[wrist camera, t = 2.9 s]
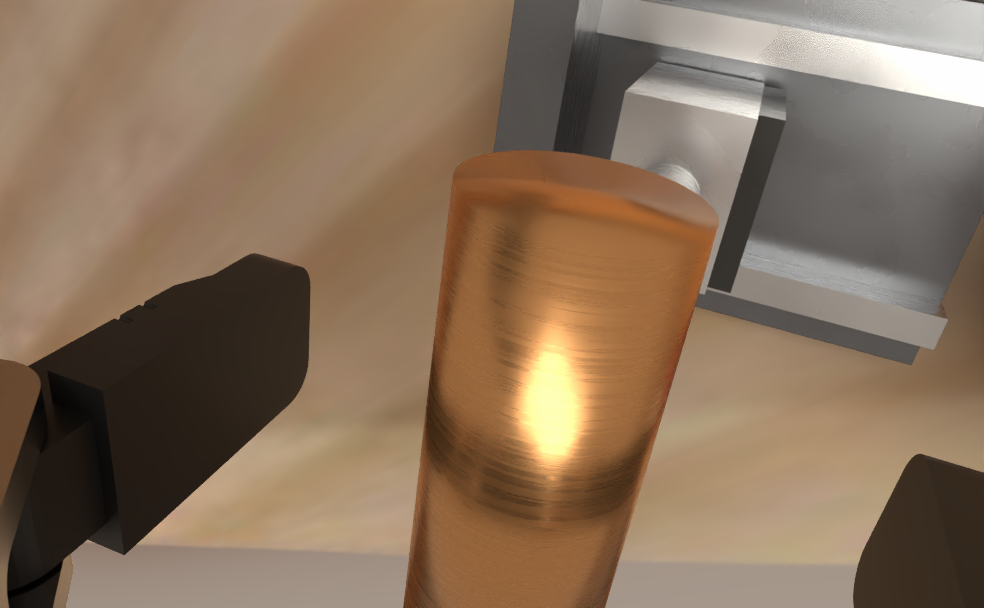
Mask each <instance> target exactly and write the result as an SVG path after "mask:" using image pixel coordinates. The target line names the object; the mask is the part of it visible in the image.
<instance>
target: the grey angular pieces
mask: <svg viewBox="0 0 984 608" xmlns="http://www.w3.org/2000/svg"><path fill="white" fill-rule="evenodd" d="M657 62H661V63H666V64H671V65H676V66H681V67H687V68H692V69H697V70H702V71H707V72H712V73H717V74H722V75H727V76H732V77H737V78H742V79H747V80H752V81H757V82H762V83H765V84H764V86H767V87H772V88H777V89H782V90H787V101H786V122H785V125H784V128H783V131H782V134H781V138H780V141H779V144H778V147H777V150H776V153H775V156H774V159H773V162H772V166H771V169H770V172H769V175H768V178H767V181H766V184H765V187H764V191H763V194H762V197H761V200H760V203H759V206H758V209H757V212H756V215H755V219H754V222H753V225H752V228H751V231H750V234H749V237H748V240H747V243H746V247H745V250H744V253H743V256H742V259H741V262H740V265H739V268H738V271H737V275H736V278H735V281H734V284H733V287H732V290H731V293H728V292H724V291H720V290H717V289H713V288H709V287H707V289H706V292H705V295H704V294H700V293H699V294H698V298H697V301H696V304H695V306H696V307H700V308H704V309H707V310H711V311H715V312H718V313H722V314H725V315H729V316H733V317H736V318H740V319H744V320H747V321H751V322H755V323H758V324H762V325H766V326H769V327H773V328H777V329H780V330H784V331H788V332H791V333H795V334H799V335H802V336H806V337H810V338H813V339H817V340H821V341H824V342H828V343H832V344H835V345H839V346H843V347H846V348H850V349H854V350H857V351H861V352H865V353H868V354H872V355H875V356H879V357H883V358H886V359H890V360H894V361H897V362H901V363H905V364H908V365H912V363H913V360H914V358H915V356H916V354H917V352H918V350H919V348H920V347H924V348H928V349H932V350H934V348H935V346H936V344H937V342H938V340H939V338H940V336H941V334H942V332H943V330H944V328H945V326H946V324H947V322H948V320H949V319H948V317H947V315H946V312H945V310H944V307H943V305H942V302H941V301H942V299H943V297H944V295H945V293H946V291H947V289H948V287H949V284H950V282H951V280H952V278H953V276H954V274H955V272H956V270H957V267H958V265H959V263H960V261H961V259H962V257H963V255H964V253H965V251H966V248H967V246H968V244H969V242H970V240H971V238H972V236H973V234H974V232H975V229H976V227H977V225H978V223H979V221H980V219H981V217H982V215H983V213H984V2H981V1H975V0H515V3H514V11H513V18H512V25H511V32H510V39H509V46H508V54H507V61H506V68H505V75H504V82H503V89H502V97H501V104H500V111H499V118H498V125H497V133H496V140H495V147H494V153H495V152H502V151H515V150H541V151H556V152H566V153H573V154H581V155H587V156H592V157H598V158H603V159H607V160H610V159H611V155H612V150H613V145H614V141H615V136H616V131H617V127H618V122H619V118H620V113H621V108H622V104H623V99H624V94H625V91H626V90H627V89H628V88H629V87H631V86H632V85H633V84H634V83H635V82H636V81H637V80H638V79H639V78H640V77H642V76H643V75H644V74H645V73H646V72H647V71H648V70H649V69H650V68H651V67H653V66H654V65H655V64H656V63H657Z"/></svg>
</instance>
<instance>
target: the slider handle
mask: <svg viewBox="0 0 984 608" xmlns="http://www.w3.org/2000/svg"><path fill="white" fill-rule="evenodd" d="M764 84H765V83H762V82H757V81H752V80H747V79H742V78H737V77H732V76H727V75H722V74H717V73H712V72H707V71H702V70H697V69H692V68H687V67H681V66H676V65H671V64H666V63H661V62H657V63H656V64H655V65H654V66H653V67H651V68H650V69H649V70H648V71H647V72H646V73H645V74H644V75H643V76H642V77H640V78H639V79H638V80H637V81H636V82H635V83H634V84H633V85H632V86H631V87H629V88H628V89H627V90H626V91H625V94H624V99H623V104H622V108H621V113H620V118H619V122H618V127H617V131H616V136H615V141H614V145H613V150H612V155H611V159H610V160H607V159H603V158H598V157H592V156H587V155H581V154H573V153H566V152H556V151H541V150H515V151H502V152H495V153H488V154H484V155H480V156H477V157H474V158H471V159H469V160H467V161H465V162H463V163H462V164H461V165H459V166H458V167H457V168H456V170H455V172H454V174H453V180H452V188H451V197H450V206H449V214H448V223H447V232H446V240H445V249H444V258H443V267H442V275H441V284H440V293H439V301H438V310H437V319H436V327H435V336H434V345H433V354H432V362H431V371H430V380H429V388H428V397H427V406H426V415H425V423H424V432H423V441H422V449H421V458H420V467H419V475H418V484H417V493H416V502H415V510H414V519H413V528H412V536H411V545H410V554H409V562H408V571H407V580H406V590H405V597H404V606H403V608H605V606H606V602H607V599H608V596H609V592H610V589H611V585H612V582H613V579H614V576H615V572H616V569H617V566H618V562H619V559H620V555H621V552H622V549H623V545H624V542H625V539H626V535H627V532H628V529H629V525H630V522H631V519H632V515H633V512H634V509H635V505H636V502H637V499H638V495H639V492H640V489H641V485H642V482H643V478H644V475H645V472H646V468H647V465H648V462H649V458H650V455H651V452H652V448H653V445H654V442H655V438H656V435H657V432H658V428H659V425H660V422H661V418H662V415H663V412H664V408H665V405H666V401H667V398H668V395H669V391H670V388H671V385H672V381H673V378H674V375H675V371H676V368H677V365H678V361H679V358H680V355H681V351H682V348H683V345H684V341H685V338H686V335H687V331H688V328H689V324H690V321H691V318H692V314H693V311H694V308H695V304H696V301H697V298H698V294H699V293H700V294H704V295H705V292H706V289H707V287H709V288H713V289H717V290H720V291H724V292H728V293H731V290H732V287H733V284H734V281H735V278H736V275H737V271H738V268H739V265H740V262H741V259H742V256H743V253H744V250H745V247H746V243H747V240H748V237H749V234H750V231H751V228H752V225H753V222H754V219H755V215H756V212H757V209H758V206H759V203H760V200H761V197H762V194H763V191H764V187H765V184H766V181H767V178H768V175H769V172H770V169H771V166H772V162H773V159H774V156H775V153H776V150H777V147H778V144H779V141H780V138H781V134H782V131H783V128H784V125H785V122H786V101H787V90H782V89H777V88H772V87H767V86H764Z"/></svg>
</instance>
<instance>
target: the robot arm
mask: <svg viewBox="0 0 984 608" xmlns="http://www.w3.org/2000/svg"><path fill="white" fill-rule="evenodd" d="M309 321H310V278H309V275H308V273H307V271H306V270H305V269H304V268H302V267H300V266H297V265H293V264H290V263H287V262H283V261H280V260H277V259H273V258H270V257H267V256H263V255H260V254H255V253H254V254H250V255H247V256H246V257H244V258H242V259H240V260H239V261H237V262H235V263H233V264H232V265H230V266H228V267H226V268H225V269H223V270H221V271H219V272H218V273H216V274H214V275H211V276H207V277H204V278H200V279H196V280H193V281H189V282H185V283H182V284H178V285H174V286H172V287H170V288H169V289H167V290H165V291H163V292H161V293H160V294H158V295H156V296H154V297H152V298H151V299H149V300H147V301H145V304H144V306H141V305H138V306H136V307H134V308H132V309H131V310H129V311H127V312H125V313H123V314H122V315H120V319H119V320H117V319H113V320H111V321H109V322H107V323H105V324H104V325H102V326H100V327H98V328H96V329H95V330H93V331H91V332H89V333H87V334H85V335H84V336H82V337H80V338H78V339H76V340H75V341H73V342H71V343H69V344H67V345H66V346H64V347H62V348H60V349H58V350H57V351H55V352H53V353H51V354H49V355H47V356H46V357H44V358H42V359H40V360H38V361H37V362H35V363H33V364H31V365H29V366H28V367H27V366H26V365H24V364H21V363H18V362H14V361H9V360H3V359H0V608H66V603H67V598H68V594H69V589H70V584H71V579H72V574H73V573H72V572H73V564H72V559H71V553H72V552H73V551H74V550H76V549H77V548H78V547H79V546H80V545H81V544H83V543H84V542H85V541H86V540H87V539H88V540H90V541H92V542H95V543H97V544H99V545H102V546H104V547H106V548H109V549H111V550H113V551H116V552H118V553H121V554H123V555H125V554H126V553H127V552H128V551H129V550H131V549H132V548H133V547H134V546H135V545H136V544H137V543H138V542H139V541H140V540H142V539H143V538H144V537H145V536H146V535H147V534H148V533H149V532H150V531H151V530H152V529H154V528H155V527H156V526H157V525H158V524H159V523H160V522H161V521H162V520H163V519H164V518H166V517H167V516H168V515H169V514H170V513H171V512H172V511H173V510H174V509H175V508H176V507H178V506H179V505H180V504H181V503H182V502H183V501H184V500H185V499H186V498H187V497H188V496H190V495H191V494H192V493H193V492H194V491H195V490H196V489H197V488H198V487H199V486H201V485H202V484H203V483H204V482H205V481H206V480H207V479H208V478H209V477H210V476H211V475H213V474H214V473H215V472H216V471H217V470H218V469H219V468H220V467H221V466H222V465H223V464H225V463H226V462H227V461H228V460H229V459H230V458H231V457H232V456H233V455H234V454H235V453H237V452H238V451H239V450H240V449H241V448H242V447H243V446H244V445H245V444H246V443H247V442H249V441H250V440H251V439H252V438H253V437H254V436H255V435H256V434H257V433H258V432H259V431H261V430H262V429H263V428H264V427H265V426H266V425H267V424H268V423H269V422H270V421H272V420H273V419H274V418H275V417H276V416H277V415H278V414H279V413H280V412H281V411H282V410H284V409H285V408H286V407H287V406H288V405H289V404H290V403H291V402H292V401H293V400H294V398H295V397H296V395H297V394H298V392H299V391H300V389H301V387H302V384H303V382H304V379H305V376H306V373H307V368H308V360H309ZM853 602H854V608H984V473H983V472H980V471H976V470H973V469H970V468H966V467H963V466H960V465H956V464H953V463H950V462H946V461H943V460H940V459H936V458H933V457H930V456H926V455H923V454H917V455H915V456H914V457H913V458H912V459H911V460H910V461H909V462H908V464H907V465H906V467H905V469H904V471H903V473H902V475H901V477H900V479H899V480H898V482H897V484H896V486H895V488H894V490H893V492H892V494H891V496H890V498H889V500H888V502H887V504H886V506H885V508H884V510H883V512H882V514H881V516H880V518H879V520H878V522H877V524H876V526H875V528H874V530H873V532H872V534H871V536H870V538H869V540H868V542H867V544H866V546H865V548H864V550H863V552H862V555H861V558H860V561H859V564H858V568H857V572H856V577H855V583H854V593H853Z"/></svg>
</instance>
